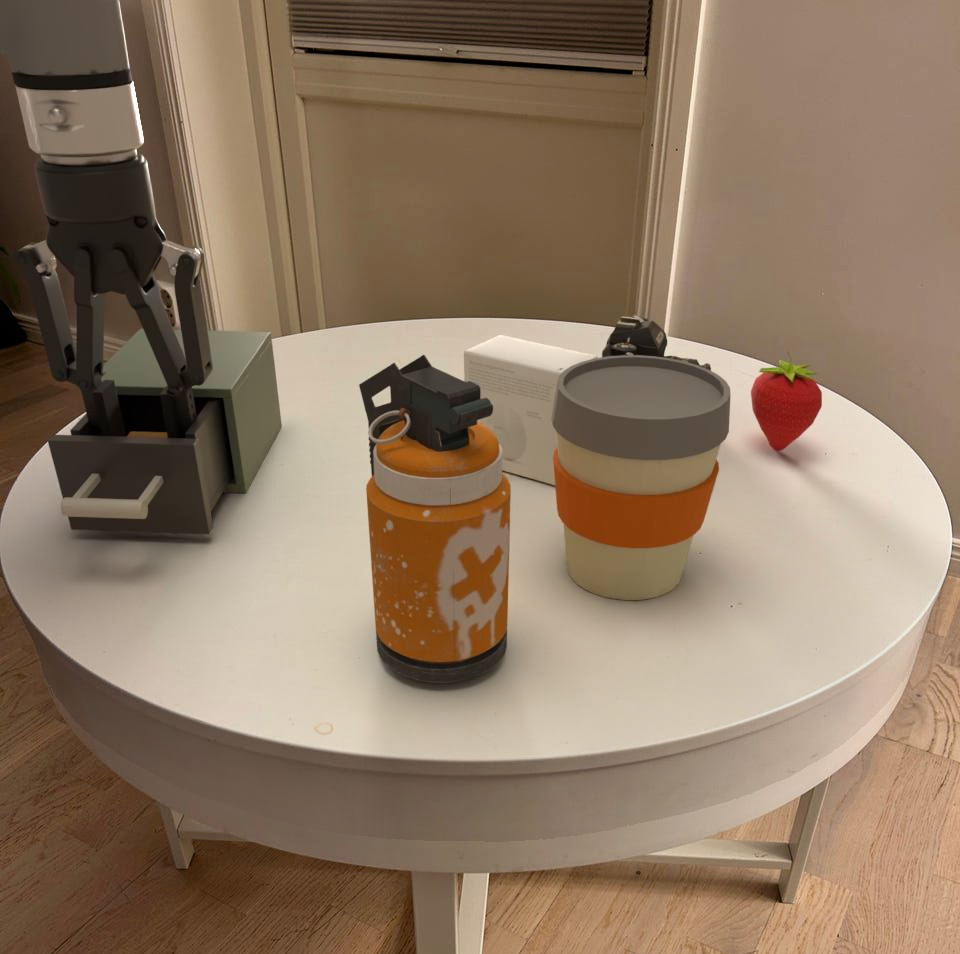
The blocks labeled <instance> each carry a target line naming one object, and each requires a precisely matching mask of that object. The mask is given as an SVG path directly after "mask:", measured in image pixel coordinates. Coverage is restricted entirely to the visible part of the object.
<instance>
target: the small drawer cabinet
mask: <svg viewBox="0 0 960 954" xmlns="http://www.w3.org/2000/svg"><path fill="white" fill-rule="evenodd" d="M173 329H174V328H173ZM174 331H175V334H176V336H177V339H178V341H179V344H180V346H181V349H182V351H183V353H184V356H185V350H184V344H183V338H182V332H181V329H179V328H178V329H177V328H176V329H174ZM207 331H208V338H209V344H210V351H211V358H212V364H213V371H212V373H211V374H210V375H209V376H208V378H207V379H206V380H205V382H204V383H203V384H202V385H199V386H197V385H195V386H192V391H193V397H214V398H223V401H224V408H225V414H226V421H227V428H228V434H229V441H230V447H231V454H232V461H233V467H234V473H233V475H232V477H231V478H230V480H229V482H228V483H227V485H226V487H225V489H224V490H223V492H222V493H236V494H237V493H239V494H246V493H247V492H248V490H249V489H250V487H251V484H252V482H253V480H254V479H255V477H256V475H257V473H258V471H259V469H260V468H261V465H262V464H263V462H264V460H265V458H266V456H267V455H268V453H269V451H270V449H271V447H272V446H273V444H274V442H275V440H276V439H277V436H278V435H279V432H280V431H281V428H282V427H283V425H282V424H283V423H282V415H281V406H280V399H279V398H280V397H279V390H278V382H277V372H276V364H275V356H274V347H273V340H272V333H271V331H256V330H255V331H254V330H252V331H251V330H218V329H217V330H216V329H215V330H213V329H207ZM126 341H127V342H125V343H124V345H122V346H121V347H119V349H118V350H117V351H116V352H115V353H114V354H113V355H112V356H111V357H110V358H109V359H108V360H107V361H105V363H103V372H104V371H105V370H106V373H105V375H104V376H103V377H102V378H101V380H102V382H103V381H104V380H114V383H115V387H116V392H117V395H142V396H160V393H161V392H162V391H163V390H164V389H165V387H166V386H167V383H166V381H165V378H164V376H163V374H162V371H161V369H160V367H159V364H158V362H157V360H156V357H155V355H154V353H153V350H152V348H151V346H150V343H149V341H148V339H147V336H146V334H145V332H144V329H143V328H140V329H139V330H138V331H137V332H135V333H134V334H133V335H132V336H131V337H130V338H129V339H128V340H126ZM185 358H186V356H185Z"/></svg>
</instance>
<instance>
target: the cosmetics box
mask: <svg viewBox="0 0 960 954" xmlns="http://www.w3.org/2000/svg"><path fill="white" fill-rule="evenodd" d="M595 358H598V355H595V354H591V353H585V352H581V351H578V350H577V351H576V350H571V349H567V348H564V347H563V348H562V347H557V346H553V345H549V344H543V343H539V342H536V341H535V342H534V341H530V340H525V339H520V338H518V337H517V338H516V337H512V336H508V335H503V334H498V335H497V336H494V337H492V338H489V339H488V340H486V341H483V342H481V343H478V344H477V345H474V346H473V347H471V348H468V349H466V350H464V352H463V375H464V376H463V377H464V378H463V379H464V380H463V381H465V382H468V381H471V382H473V383H475V384H477V385H479V387H480V389H481V399H482V398H488V399H489V400H490V402H491V404H492V405H493V412H492V415H491V416H489V417H486V418H483V419H480V420H477V422H479V423H481V424H483V425H485V426H486V427H488V428H489V429H490V430H492V432H493V433H494V434H495V435H496V437H497V439H498V442H499V443H500V445H501V447H502V472H503V471H504V472H508V473H510V474H514V475H517V476H521V477H525V478H528V479H532V480H535V481H539V482H543V483H545V484H549V485H553V486H555V477H554V465H553V455H554V451H555V449H556V448H557V447H558V445H557V432H556V430H555V429H554V427H553V425H552V420H551V417H552V411H553V405H554V399H555V393H556V387H557V381H558V378H559V376H560V375H561V373H562V372H563V371H564V370H566V369H568V368H569V367H571V366H573V365H575V364H578V363H580V362H583V361H587V360H591V359H595Z"/></svg>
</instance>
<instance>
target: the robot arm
mask: <svg viewBox="0 0 960 954" xmlns="http://www.w3.org/2000/svg"><path fill="white" fill-rule="evenodd" d="M124 28H125V27H124V22H123V16H122V9H121V4H120V0H0V54H1V55H2V54H3V55H4V54H5V55H6V57H7V60H8V63H9V66H10V71H11V76H12V81H13V84H14V85H15V90H16V94H17V100H18V103H19V108H20V113H21V117H22V121H23V125H24V131H25V134H26V139H27V143H28V148H30V149H31V150H32V151H33V152H35V154H37V155H40V157H38V158H37V159H36V160H35V163H34V164H33V169H34V174H35V177H36V182H37V187H38V191H39V196H40V201H41V204H42V209H43V212H44V214H45V216H46V218H47V230H46V234H45V240H43V241H40V242H30V243H29V244H27V245H25V246H23V247H22V248H20V249H18V250H17V251H15V252H14V254H13V261H14V262H15V264H16V266H17V267H18V269H19V271H20V273H22V276H23V277H24V279H25V280H26V282H27V284H28V287H29V292H30V295H31V299H32V303H33V307H34V311H35V314H36V315H35V316H36V318H37V322H38V326H39V330H40V334H41V338H42V342H43V346H44V350H45V353H46V357H47V362H48V366H49V369H50V373H51V376H52V378H53V379H54V380H55V381H56V382H59V383H64V382H68V383H70V384H73V385H75V386H76V387H78V388H79V390H80V392H81V396H82V401H83V405H84V408H85V412H86V413H87V418H88V421H89V422H90V424H91V426H95V427H100V428H101V433H102V436H116V437H126V434H125V429H124V424H123V420H122V415H121V411H120V406H119V401H118V397H117V392H116V387H115V383H114V380H104V381H103V382H102V380H101V378H102V377H103V376H104V375H105V373H106V370H105V371H104V372H103V365H104V345H105V344H104V343H105V342H104V341H105V305H106V304H105V301H106V300H105V299H106V296H107V294H108V293H110V292H111V293H112V292H113V293H117V294H119V295H125V297H126V300H127V302H128V304H129V306H130V308H131V309H133V310H134V311H135V313H136V315H137V317H138V320H139V322H140V325H141V327H142V329H144V332H145V334H146V336H147V339H148V341H149V343H150V346H151V348H152V350H153V353H154V355H155V357H156V360H157V362H158V364H159V367H160V369H161V371H162V374H163V376H164V378H165V381H166V383H167V386H166V387H165V389H164V390H163V391H162V392H161V393H160V399H161V404H162V410H163V415H164V420H165V426H166V431H167V436H168V438H184V439H186V436H185V433H186V432H187V430H188V429H189V427H190V426H191V425H192V423H193V422H194V420H195V419H196V417H197V415H196V410H195V403H194V397H193V391H192V386H195V385H197V386H199V385H202V384H203V383H204V382H205V380H206V379H207V378H208V376H209V375H210V374H211V373H212V371H213V364H212V358H211V351H210V344H209V338H208V331H207V330H208V325H207V320H206V319H207V318H206V311H205V304H204V298H203V293H202V291H203V290H202V285H201V274H202V269H203V264H204V258H205V253H204V250H203V248H201V247H200V246H198V245H191V246H190V247H186V246H183V245H181V244H179V243H175V242H173V241H170V240H168V238H167V236H166V234H165V231H164V230H163V228H162V227H161V226H160V224H159V222H158V220H157V213H156V207H155V206H156V205H155V199H154V194H153V187H152V181H151V176H150V171H149V164H148V160H147V158H146V157H144V155H143V154H142V153H141V152H137V151H138V150H137V149H140V148H141V147H142V146H143V145H144V142H145V141H144V135H143V134H144V133H143V129H142V124H141V119H140V113H139V108H138V107H139V106H138V102H137V97H136V91H135V86H134V81H133V76H132V71H131V67H130V61H129V55H128V48H127V41H126V34H125V29H124ZM162 258H163V259H164V260H165V262H166V263H167V271H168V273H169V274H170V275H171V276H172V277H174V295H175V302H176V308H177V312H178V314H177V315H178V320H179V325H180V330H181V332H182V338H183V344H184V350H185V356H186V358H185V356H184V353H183V351H182V349H181V346H180V344H179V341H178V339H177V336H176V334H175V331H174V327H173V325H172V322H171V320H170V317H169V315H168V312H167V310H166V306H165V305H164V301H163V300H162V298H161V288H160V285H159V283H158V281H157V278H156V275H155V274H154V273H155V271H156V269H157V267H158V266H159V264H160V261H161V259H162ZM57 260H58V261H59V263H60V264H61V265H62V266H63V267H64V268H65V269H66V270H67V271H68V273H70V275H71V276H72V277H73V301H74V303H75V304H76V336H75V337H76V343H75V342H74V338H73V334H72V329H71V326H70V325H71V324H70V320H69V317H68V313H67V309H66V304H65V300H64V296H63V291H62V288H61V284H60V280H59V276H58V274H57V271H56V269H57V266H58V265H57ZM75 345H76V346H75ZM86 413H85V414H86Z"/></svg>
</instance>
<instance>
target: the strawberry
mask: <svg viewBox="0 0 960 954" xmlns="http://www.w3.org/2000/svg"><path fill="white" fill-rule="evenodd" d="M785 351H786V353H787V355H788V357H789V363H788V362H787V361H785V360H782V359H779V361H778V363H779V366H775V367H774V366H773V367H761V368H760V370H758V373H760V375H758V376H756V378H755V380H754V382H753V384H752V386H751V390H750V399H751V407H752V412H753V414H754V416H755V419H756V421H757V424H758V425H759V428H760V430H761V431H762V433H763V434H764V436H765V438H766V439H767V441H768V444H769V446H770V447H771V449H772V450H774V451H776V452H781V451H783V450H785V449H786V448H787V447H788V446H789V445H790V444H791V443H794V441H796V440H797V439H799V438H800V437H801V436H802V435H803V434H804V433H805V432H806V431H807V430H808V429H809V428H810V427H811V426H812V425H813V424H814V422H815V420H816V418H817V416H818V415H819V412H820V411H821V409H822V407H823V393H822V390H821V389H820V387H819V385H818V384H817V382H816V381H815V380H814V379H813V378H812V377H810V376H809V375H818V374H819V373H818V372H815V371H812V370H809V369H807V368H809V367H811V364H799V365H797V364H791V363H792V356H791V354H790V353H789V352H790V351H789V350H788V348H785Z"/></svg>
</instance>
